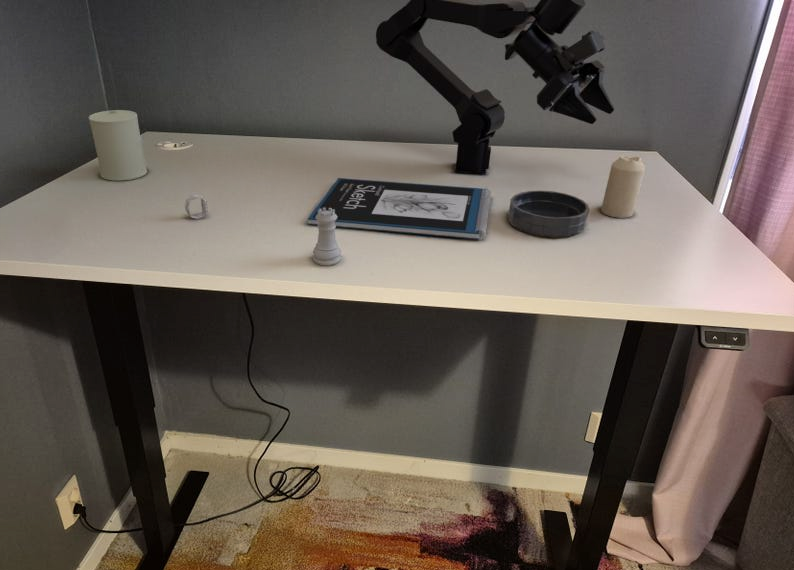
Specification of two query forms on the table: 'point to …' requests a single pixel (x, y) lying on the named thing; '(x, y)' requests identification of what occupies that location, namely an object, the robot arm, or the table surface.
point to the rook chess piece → (326, 239)
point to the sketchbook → (407, 208)
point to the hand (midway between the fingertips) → (603, 116)
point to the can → (118, 144)
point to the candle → (623, 187)
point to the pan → (548, 213)
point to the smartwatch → (203, 204)
